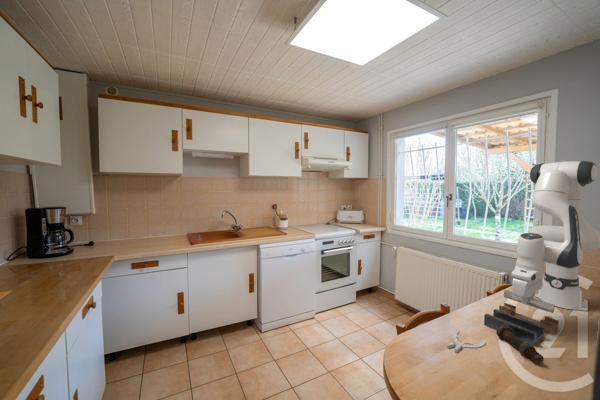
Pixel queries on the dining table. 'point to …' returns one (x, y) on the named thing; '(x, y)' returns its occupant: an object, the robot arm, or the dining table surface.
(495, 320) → the v block
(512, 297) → the axle
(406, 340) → the dining table surface
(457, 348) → the pliers
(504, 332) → the bolt
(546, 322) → the beam
